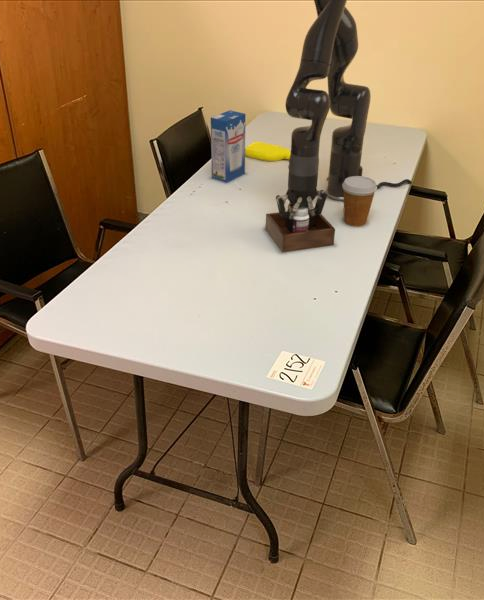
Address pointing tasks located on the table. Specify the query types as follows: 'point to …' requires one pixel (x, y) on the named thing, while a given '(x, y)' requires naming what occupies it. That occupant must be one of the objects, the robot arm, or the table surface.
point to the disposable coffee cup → (358, 199)
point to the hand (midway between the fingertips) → (299, 229)
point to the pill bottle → (301, 220)
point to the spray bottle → (267, 152)
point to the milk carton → (228, 145)
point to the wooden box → (312, 238)
